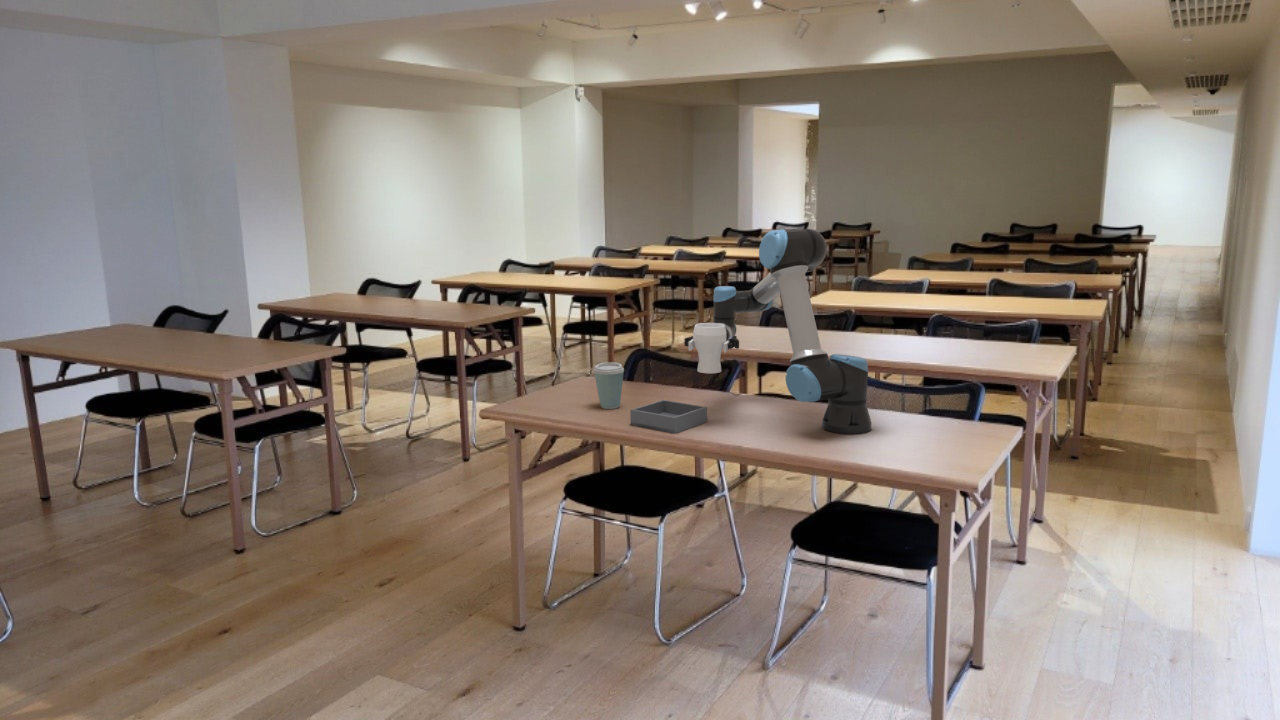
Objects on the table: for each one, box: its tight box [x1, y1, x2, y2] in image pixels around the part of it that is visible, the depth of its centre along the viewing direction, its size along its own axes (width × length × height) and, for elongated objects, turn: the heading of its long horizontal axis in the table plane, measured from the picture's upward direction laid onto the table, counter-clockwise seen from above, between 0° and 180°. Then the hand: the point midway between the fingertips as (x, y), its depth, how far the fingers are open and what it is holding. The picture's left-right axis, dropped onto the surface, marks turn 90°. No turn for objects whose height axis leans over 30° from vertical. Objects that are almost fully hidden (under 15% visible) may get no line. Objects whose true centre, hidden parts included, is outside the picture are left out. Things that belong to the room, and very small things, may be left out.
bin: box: [630, 399, 708, 435], centre depth 295 cm, size 18×18×5 cm
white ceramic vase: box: [692, 322, 726, 374], centre depth 293 cm, size 11×11×15 cm
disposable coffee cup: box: [593, 361, 625, 410], centre depth 316 cm, size 11×11×15 cm
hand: (707, 347), depth 289 cm, fingers closed on white ceramic vase, 11 cm apart
